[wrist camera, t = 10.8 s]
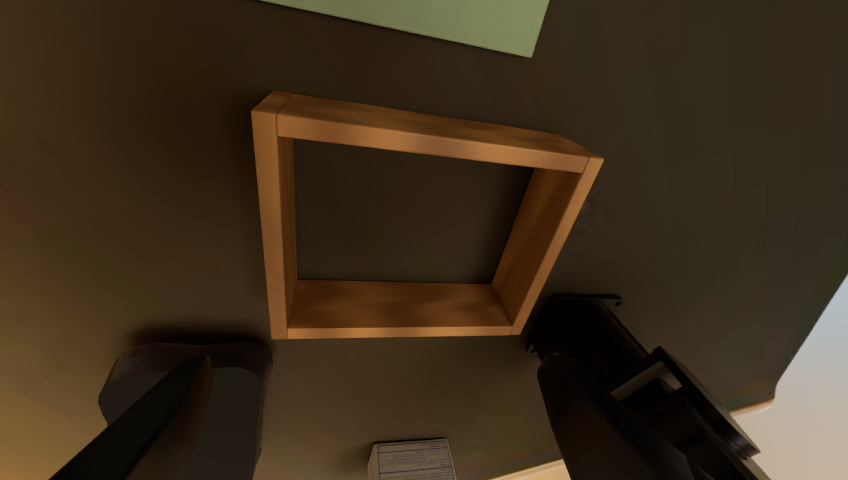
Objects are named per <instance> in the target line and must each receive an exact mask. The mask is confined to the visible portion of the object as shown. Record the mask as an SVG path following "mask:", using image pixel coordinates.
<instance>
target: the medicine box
mask: <svg viewBox="0 0 848 480" xmlns="http://www.w3.org/2000/svg"><path fill="white" fill-rule="evenodd" d="M368 480H456V475H455V471H454V467H453V462H452V458H451V454H450V449H449V444H448V440H447V439H435V440H423V441H409V442H396V443H382V444H374V445H373V449H372V452H371V456H370V459H369V463H368Z"/></svg>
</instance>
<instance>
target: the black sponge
mask: <svg viewBox="0 0 848 480" xmlns="http://www.w3.org/2000/svg"><path fill="white" fill-rule="evenodd" d="M190 355H207V356H208V357H209V358H210V362H211V367H212V372H213V377H214V381H213V387H212V390H211V394H210V398H209V401H208V405H207V408H206V412H205V415H204V419H203V422H202V426H201V429H200V433H199V437H198V440H197V444H196V447H195V450H194V454H193V457H192V459H191V462H190V465H189V467H188V470H187V472H186V475H185V477H184V480H252V479H253V475H254V472H255V468H256V464H257V461H258V459H259V457H260V456H261V451H262V445H261V444H260V434H261V423H262V410H263V403H264V391H265V385H266V383H267V380H268V378H269V376H270V373H271V370H272V367H273V359H272V356H271V354H270V352H269V351H268V349H267V348H266V347H265V346H264V345H262V344H259V343H253V342H240V343H224V344H216V345H188V344H180V343H160V342H153V343H149V344H145V345H141V346H136V347H133V348H130V349H128V350H126V351H125V352H123V353H122V354H121V356H120V357H119V358H118V359H117V360H116V362H115V364H114V365H113V367H112V369H111V371H110V373H109V376H108V378H107V380H106V382H105V384H104V387H103V389H102V391H101V393H100V395H99V400H98V404H99V406H100V409H101V411H102V414H103V416H104V418H105V419H106V421H107V425H108V426H109V425H110V424H111V423H113V422H114V421H115V420H116V419H117V418H118V417H119V416H120V415H122V414H123V413H124V412H125V411H126V410H127V409H128V408H129V407H130V406H132V405H133V404H134V403H135V402H136V401H137V400H138V399H139V398H141V397H142V396H143V395H144V394H145V393H146V392H147V391H148V390H150V389H151V388H152V387H153V386H154V385H155V384H156V383H157V382H159V381H160V380H161V379H162V378H163V377H164V376H165V375H166V374H167V373H169V372H170V371H171V370H172V369H173V368H174V367H175V366H176V365H178V364H179V363H180V362H181V361H182V360H183V359H184V358H186V357H187V356H190Z"/></svg>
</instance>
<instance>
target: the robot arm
mask: <svg viewBox="0 0 848 480" xmlns="http://www.w3.org/2000/svg"><path fill="white" fill-rule="evenodd" d="M623 302H624V301H623V300H622V299H621V297H620V296H601V295H555V296H553V297H552V298H551V299H550V300H549V302H548V304H547V306H546V308H545V310H544V312H543V314H542V316H541V318H540V320H539V322H538V324H537V326H536V328H535V330H534V332H533V334H532V336H531V338H530V340H529V342H528V344H527V345H526V348H525V349H526V351H527V353H528V354H529V355H538V356H539V358H540V360H541V362H542V363H541V365H540V367H539V368H538V371H537V378H538V382H539V385H540V389H541V392H542V396H543V400H544V403H545V407H546V410H547V414H548V417H549V421H550V424H551V427H552V431H553V433H554V436H555V439H556V442H557V444H558V447H559V449H560V452H561V455H562V457H563V460H564V462H565V465H566V468H567V470H568V473H569V475H570V478H571V480H771V479H770V478H769V477H768V476H767V475H766V474H765V473H764V472H763V470H762V469H761V468H760V467H759V466H758V465H757V464H756V463H755V462H754V461H753V459H751V457H752V456H753V455H756V454H758V453H760V452H761V451H760V450H759V449H758V447H757V446H756V445H755V444H754V443H753V441H752V440H751V439H750V438H749V437H748V435H747V434H746V433H745V432H744V431H743V430H742V429H741V427H740V426H739V425H738V424H737V422H736V421H735V420H734V419H733V418H732V417H731V415H730V414H729V413H728V412H727V411H726V409H725V408H724V407H723V406H722V405H721V403H720V402H719V401H718V400H717V399H716V398H715V396H714V395H713V394H712V393H711V392H710V391H709V390H708V389H707V388H706V387H705V386H704V385H703V384H702V383H701V382H700V381H699V380H698V379H697V378H696V377H695V376H694V375H693V374H692V373H691V372H690V371H689V370H688V369H687V368H686V367H685V366H684V365H683V364H682V363H680V362H679V361H678V360H677V359H676V358H674V357H673V356H672V355H671V354H669V353H668V352H667V351H666V350H665V349H663V348H662V347H661V346H658V347H657V348H655V349H654V350H653V352H652V353H651V354H649V353H648V352H647V351H646V350H645V349H644V348H643V346H642V345H641V344H640V343H639V342H638V341H637V340H636V338H635V337H634V336H633V335H632V334H631V333H630V332H629V331H628V329H627V328H626V327H625V326H624V325H623V324H622V323H621V322H620V320H619V319H618V318H617V317H616V316H615V315H616V313H617V312H618V310H619V309H620V307H621V306H622V304H623ZM213 381H214V377H213V372H212V367H211V362H210V358H209V357H208V356H207V355H190V356H187V357H186V358H184V359H183V360H182V361H181V362H180V363H179V364H178V365H176V366H175V367H174V368H173V369H172V370H171V371H170V372H169V373H167V374H166V375H165V376H164V377H163V378H162V379H161V380H160V381H159V382H157V383H156V384H155V385H154V386H153V387H152V388H151V389H150V390H148V391H147V392H146V393H145V394H144V395H143V396H142V397H141V398H139V399H138V400H137V401H136V402H135V403H134V404H133V405H132V406H130V407H129V408H128V409H127V410H126V411H125V412H124V413H123V414H122V415H120V416H119V417H118V418H117V419H116V420H115V421H114V422H113V423H111V424H110V425H109V426H108V427H107V428H106V429H105V430H104V431H102V432H101V433H100V434H99V435H98V436H97V437H96V438H95V439H93V440H92V441H91V442H90V443H89V444H88V445H87V446H86V447H85V448H83V449H82V450H81V451H80V452H79V453H78V454H77V455H76V456H74V457H73V458H72V459H71V460H70V461H69V462H68V463H67V464H65V465H64V466H63V467H62V468H61V469H60V470H59V471H58V472H56V473H55V474H54V475H53V476H52V477H51V478H50V479H49V480H184V477H185V475H186V472H187V470H188V467H189V465H190V462H191V459H192V457H193V454H194V450H195V447H196V444H197V440H198V437H199V433H200V429H201V426H202V422H203V419H204V415H205V412H206V408H207V405H208V401H209V398H210V394H211V390H212V387H213ZM678 384H681V385H682V387H680V388H679V389H677V390H675V389H674V388H673V387H675V386H677V385H678Z"/></svg>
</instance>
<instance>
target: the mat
mask: <svg viewBox="0 0 848 480" xmlns="http://www.w3.org/2000/svg"><path fill="white" fill-rule="evenodd" d="M260 1H265V2H270V3H274V4H279V5H284V6H288V7H293V8H298V9H302V10H307V11H312V12H317V13H321V14H326V15H331V16H335V17H340V18H345V19H349V20H354V21H359V22H364V23H368V24H373V25H378V26H382V27H387V28H392V29H396V30H401V31H406V32H410V33H415V34H420V35H425V36H429V37H434V38H439V39H443V40H448V41H453V42H457V43H462V44H467V45H471V46H476V47H481V48H486V49H490V50H495V51H500V52H504V53H509V54H514V55H518V56H523V57H528V58H531V57H532V54H533V51H534V48H535V44H536V41H537V38H538V35H539V32H540V28H541V25H542V22H543V19H544V15H545V12H546V9H547V6H548V3H549V0H260Z"/></svg>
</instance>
